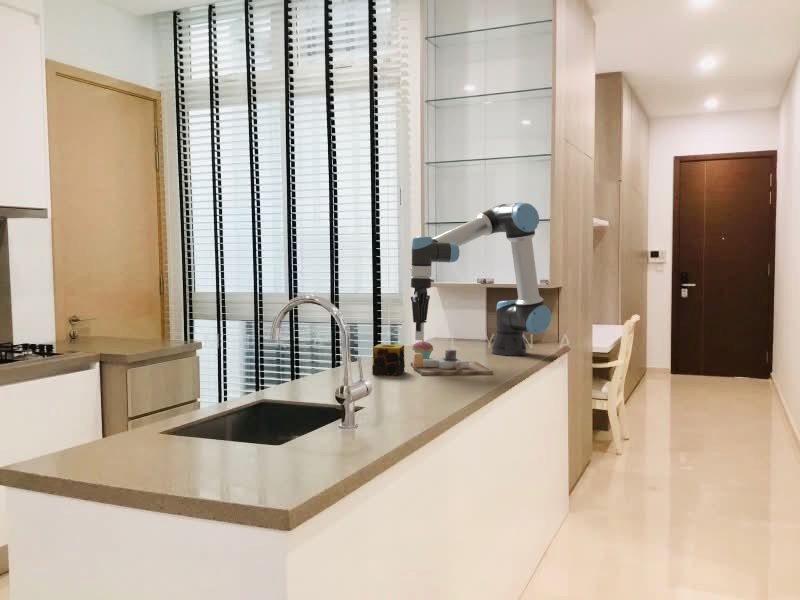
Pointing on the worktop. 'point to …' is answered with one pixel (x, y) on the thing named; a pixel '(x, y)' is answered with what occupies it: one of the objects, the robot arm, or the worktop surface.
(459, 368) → the dowel
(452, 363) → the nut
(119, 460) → the worktop surface
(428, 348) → the cupcake
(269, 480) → the worktop surface
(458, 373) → the base board
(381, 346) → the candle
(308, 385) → the worktop surface
